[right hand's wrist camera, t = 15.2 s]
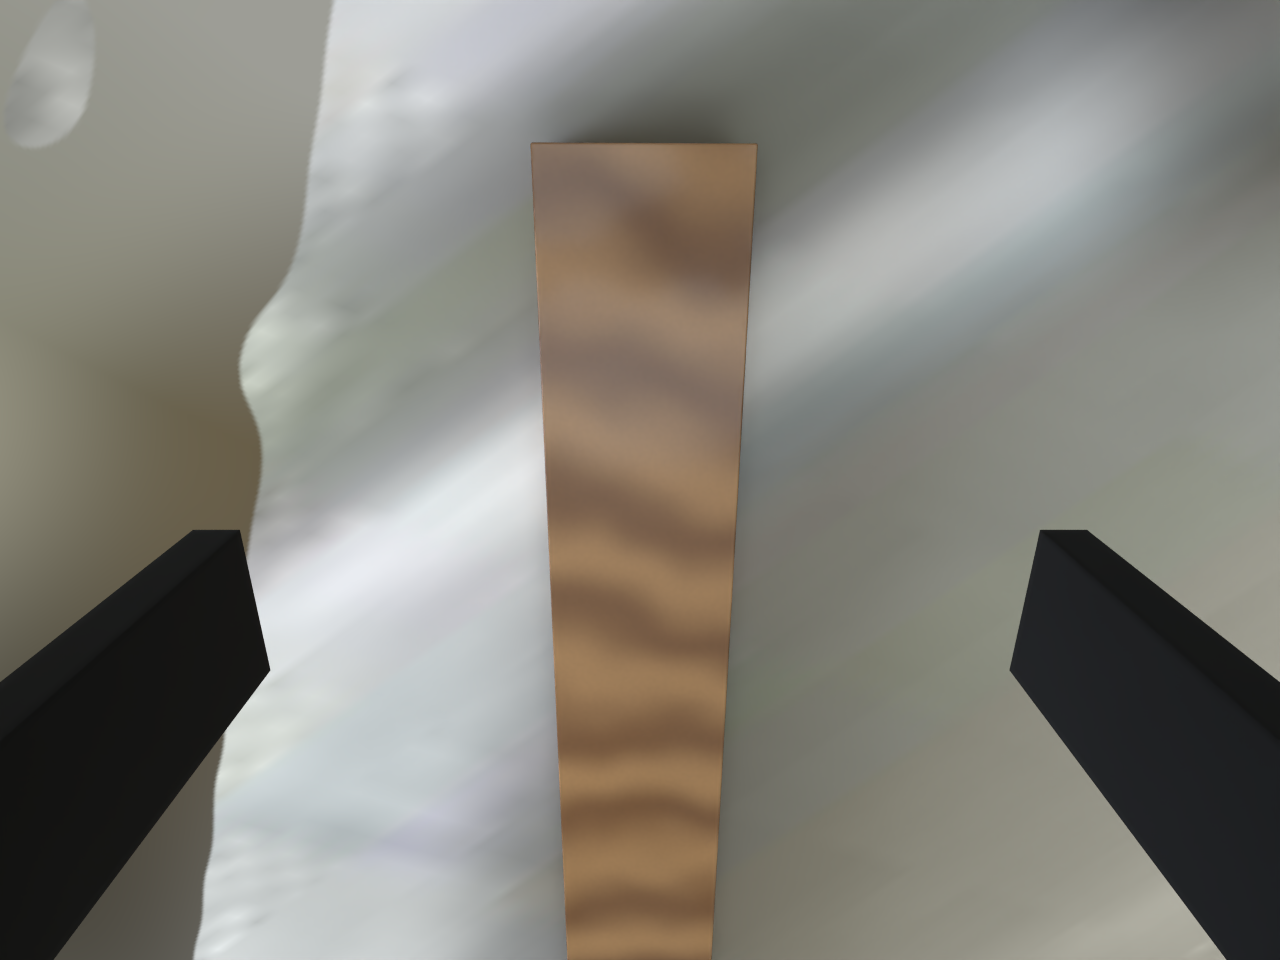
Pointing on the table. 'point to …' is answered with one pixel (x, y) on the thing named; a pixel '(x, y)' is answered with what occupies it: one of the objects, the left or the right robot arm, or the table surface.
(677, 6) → the table surface
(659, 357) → the slab
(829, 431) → the table surface
